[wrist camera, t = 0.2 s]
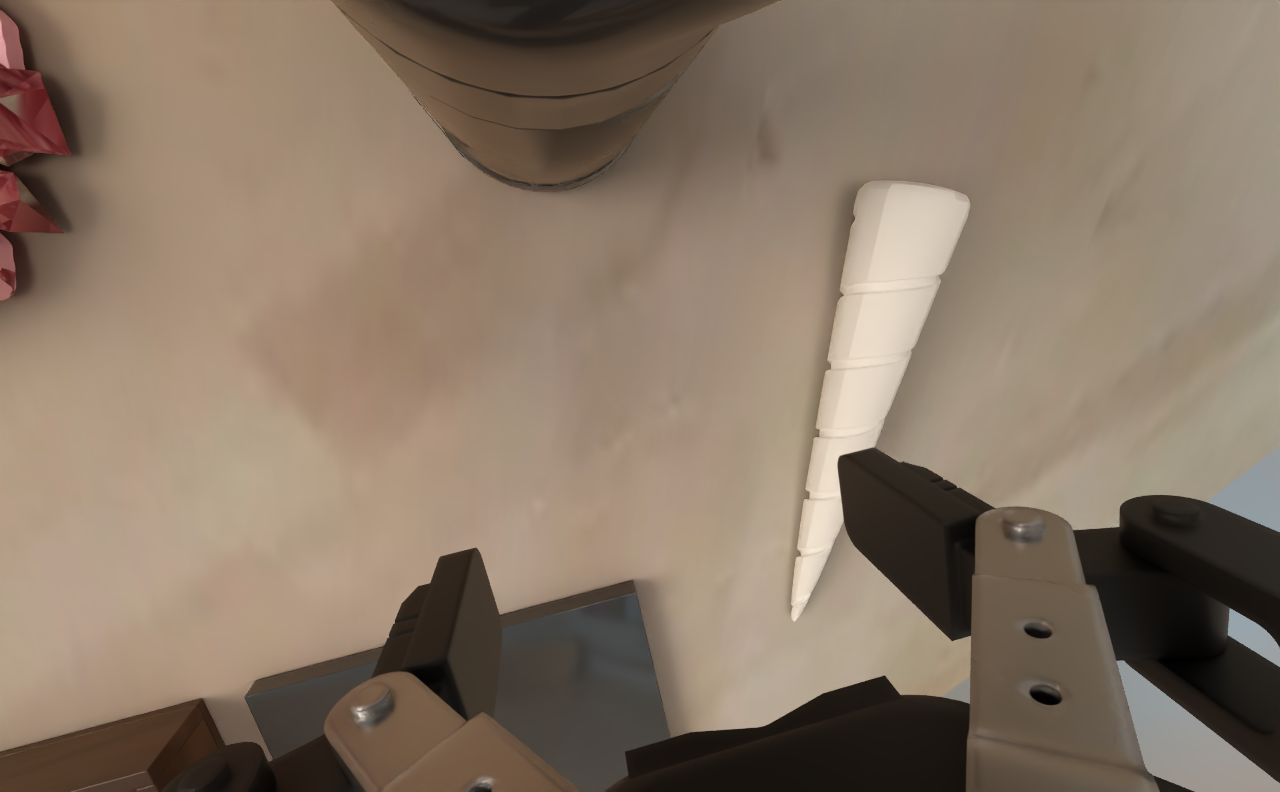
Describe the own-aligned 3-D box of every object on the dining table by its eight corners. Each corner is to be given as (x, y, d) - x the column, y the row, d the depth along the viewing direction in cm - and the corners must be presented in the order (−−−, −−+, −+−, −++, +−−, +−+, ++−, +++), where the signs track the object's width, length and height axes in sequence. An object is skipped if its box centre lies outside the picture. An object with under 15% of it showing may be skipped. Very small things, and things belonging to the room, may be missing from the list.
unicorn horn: (728, 610, 34) (757, 667, 29) (844, 176, 29) (901, 162, 24) (804, 617, 35) (844, 674, 30) (929, 199, 30) (999, 190, 25)
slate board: (255, 680, 31) (243, 697, 29) (633, 579, 32) (636, 591, 31) (344, 878, 34) (338, 900, 33) (679, 778, 36) (683, 795, 35)
